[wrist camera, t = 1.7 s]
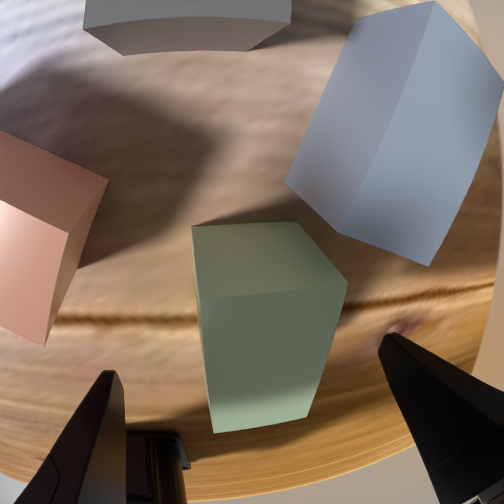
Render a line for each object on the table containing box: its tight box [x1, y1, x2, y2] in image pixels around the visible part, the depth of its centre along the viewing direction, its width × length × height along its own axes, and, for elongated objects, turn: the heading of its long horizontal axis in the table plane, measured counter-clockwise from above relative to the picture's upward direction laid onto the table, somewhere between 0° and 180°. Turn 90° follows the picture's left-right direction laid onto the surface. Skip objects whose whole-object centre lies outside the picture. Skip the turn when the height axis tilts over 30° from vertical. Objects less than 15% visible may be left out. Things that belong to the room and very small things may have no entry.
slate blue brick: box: [284, 1, 504, 267], centre depth 8 cm, size 6×4×4 cm, turn 158°
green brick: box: [191, 221, 349, 433], centre depth 10 cm, size 6×4×4 cm, turn 178°
